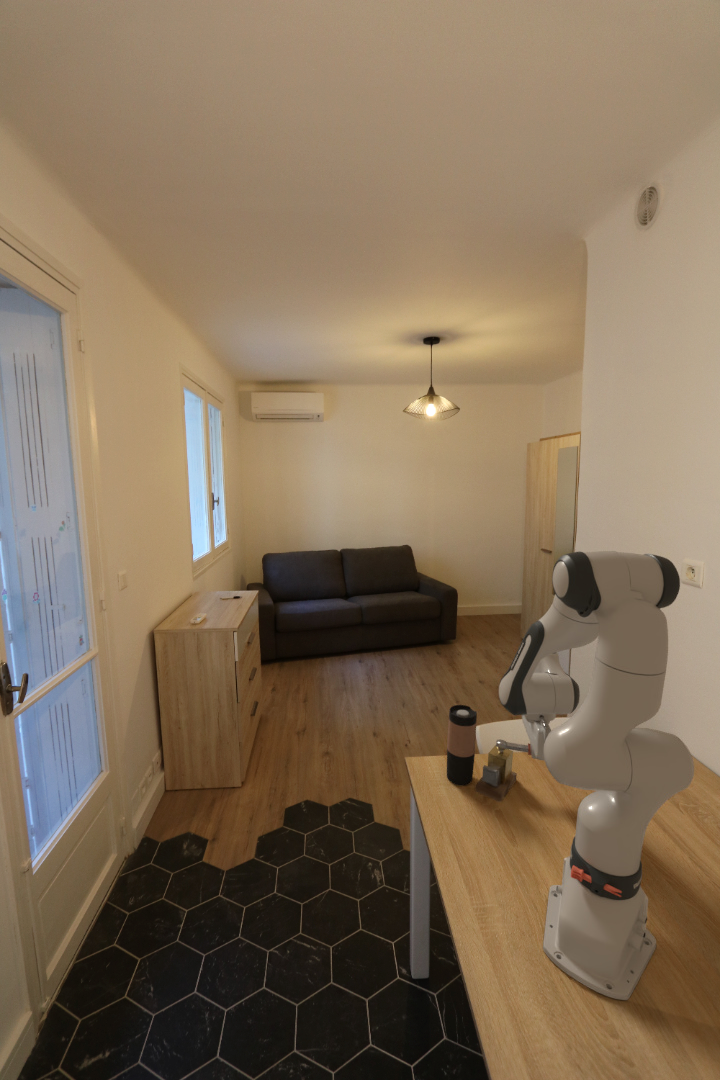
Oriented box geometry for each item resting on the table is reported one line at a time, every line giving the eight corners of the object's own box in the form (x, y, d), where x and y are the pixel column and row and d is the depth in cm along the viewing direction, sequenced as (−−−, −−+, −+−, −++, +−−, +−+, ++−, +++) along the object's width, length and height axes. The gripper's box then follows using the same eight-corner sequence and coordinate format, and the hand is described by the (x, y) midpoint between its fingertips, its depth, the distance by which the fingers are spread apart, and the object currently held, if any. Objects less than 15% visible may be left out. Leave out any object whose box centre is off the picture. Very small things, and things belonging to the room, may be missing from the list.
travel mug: (444, 783, 133) (447, 715, 130) (447, 767, 140) (450, 702, 137) (472, 788, 131) (476, 720, 128) (474, 772, 138) (478, 707, 135)
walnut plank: (500, 802, 125) (500, 795, 125) (475, 791, 130) (475, 784, 129) (516, 779, 135) (516, 773, 135) (492, 770, 139) (492, 763, 139)
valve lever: (495, 749, 131) (496, 743, 131) (495, 744, 134) (496, 738, 134) (544, 757, 128) (544, 751, 128) (542, 751, 131) (543, 745, 131)
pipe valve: (497, 792, 126) (499, 764, 125) (479, 785, 129) (481, 757, 128) (512, 772, 135) (514, 746, 134) (495, 765, 138) (497, 740, 137)
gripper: (560, 728, 116) (556, 782, 117) (542, 692, 136) (538, 738, 137) (533, 726, 116) (529, 779, 118) (518, 690, 137) (515, 735, 138)
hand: (534, 756), depth 128 cm, fingers closed
